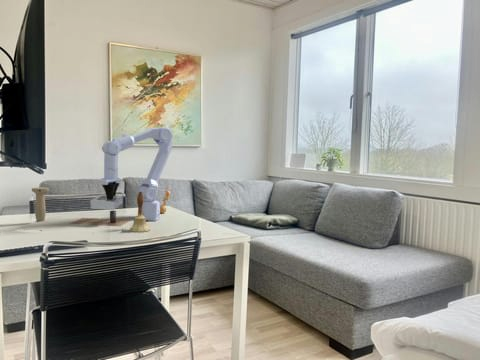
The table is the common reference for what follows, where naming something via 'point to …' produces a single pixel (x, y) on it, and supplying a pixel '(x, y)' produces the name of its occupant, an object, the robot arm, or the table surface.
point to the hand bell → (139, 217)
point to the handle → (40, 203)
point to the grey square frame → (106, 202)
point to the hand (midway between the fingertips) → (110, 199)
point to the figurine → (162, 207)
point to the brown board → (101, 221)
